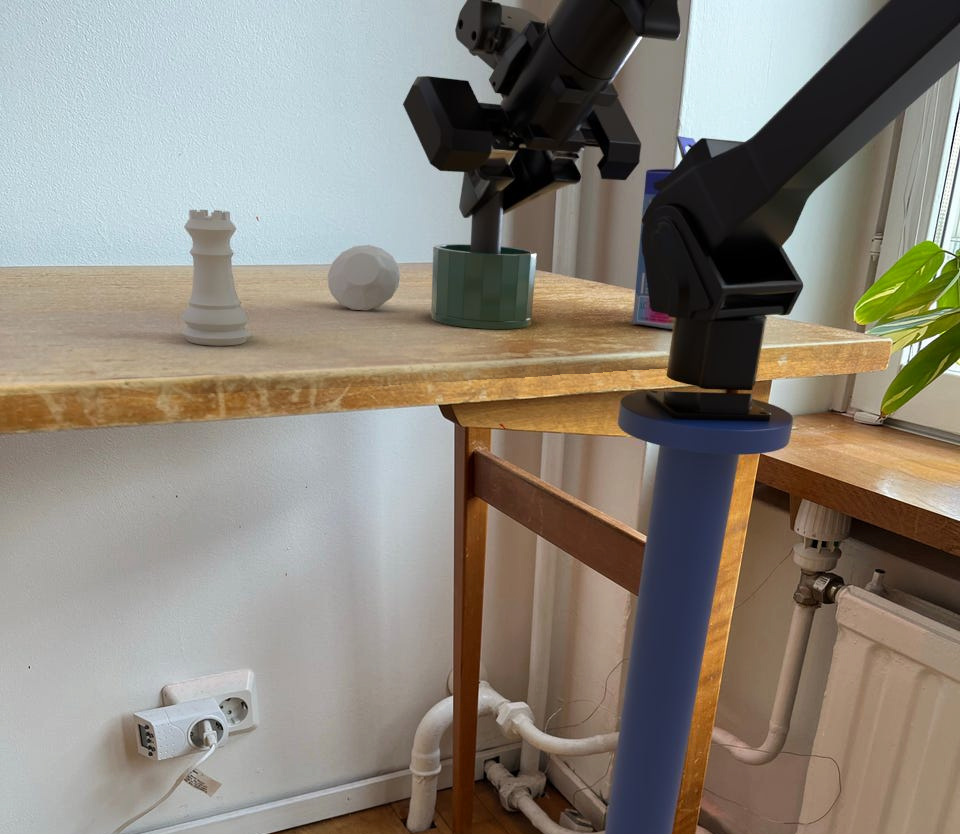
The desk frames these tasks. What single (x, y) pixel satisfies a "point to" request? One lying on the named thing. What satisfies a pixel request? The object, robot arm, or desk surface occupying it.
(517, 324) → the green faceted pot
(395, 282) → the gemstone
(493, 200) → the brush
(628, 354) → the desk surface
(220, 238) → the rook chess piece
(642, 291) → the ink cartridge box
